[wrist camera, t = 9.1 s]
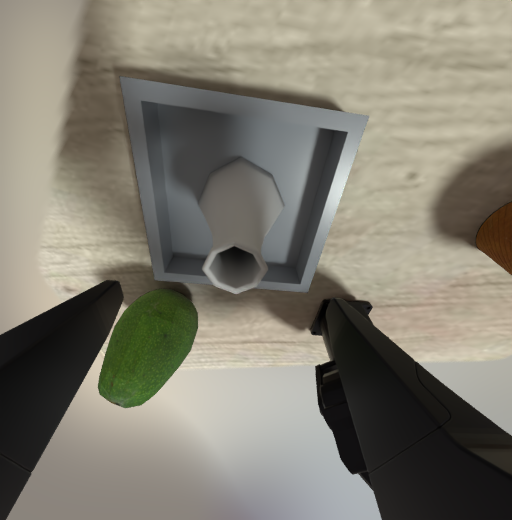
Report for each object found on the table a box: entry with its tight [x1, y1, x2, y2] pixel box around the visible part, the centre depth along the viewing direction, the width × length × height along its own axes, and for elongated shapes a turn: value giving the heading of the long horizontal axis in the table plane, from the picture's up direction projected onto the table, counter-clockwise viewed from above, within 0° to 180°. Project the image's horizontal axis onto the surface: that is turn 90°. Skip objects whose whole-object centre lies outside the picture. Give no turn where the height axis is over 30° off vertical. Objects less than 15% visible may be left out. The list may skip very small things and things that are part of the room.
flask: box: [198, 157, 285, 294], centre depth 15 cm, size 7×7×10 cm
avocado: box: [98, 289, 198, 408], centre depth 22 cm, size 8×8×12 cm
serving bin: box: [119, 76, 369, 293], centre depth 18 cm, size 15×15×4 cm
